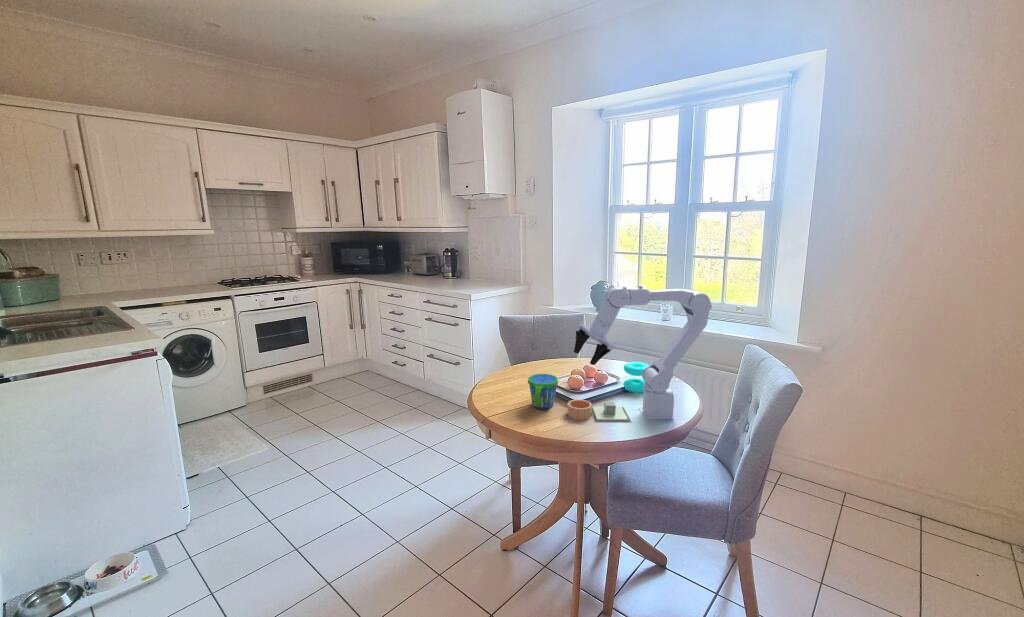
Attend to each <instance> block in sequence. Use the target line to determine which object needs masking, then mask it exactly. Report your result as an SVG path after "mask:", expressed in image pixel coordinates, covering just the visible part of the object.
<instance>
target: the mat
mask: <svg viewBox="0 0 1024 617" xmlns="http://www.w3.org/2000/svg"><path fill="white" fill-rule="evenodd" d="M621 407H622V409H623V411H624V413H625V415H626V416H627V418H628V421H597V420H596V417H595V414H594V412H593V409H592V416H591V417H592V420H593V422H594V423H633V422H632V420H631V418H630V417H629V415H628V413H627V411H626V409H625V407H624V406H621Z"/></svg>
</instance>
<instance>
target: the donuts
mask: <svg viewBox="0 0 1024 617" xmlns="http://www.w3.org/2000/svg"><path fill="white" fill-rule="evenodd" d="M648 366H650V365H649V364H647V363H645V362H641V361H629V362H626V363H625V364H624V366H623V370H624V371H625V373H626V374H628V375H630V376H634V377H632V378H626V379H625V380H624V381H623V383H622V384H623V385H624V386H625V388H624V390H626V391H627V392H629V393H630V392H631V393H636V394H637V393H638V394H641V393H643V392H644V385H645V381H644V380H643V378H640V377H642V373H643V371H644V369H645V368H647V367H648ZM638 377H639V378H638ZM623 385H622V386H623Z"/></svg>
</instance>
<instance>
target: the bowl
mask: <svg viewBox="0 0 1024 617" xmlns="http://www.w3.org/2000/svg"><path fill="white" fill-rule="evenodd" d="M592 407H593V404H592V402H591V401H588V400H585V399H572V400H569V401H568V402H567V409H566V410H567V416H568V417H569V418H571V419H574V420H580V421H582V420H588V419H590V418H591V417H592Z"/></svg>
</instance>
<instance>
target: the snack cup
mask: <svg viewBox="0 0 1024 617" xmlns="http://www.w3.org/2000/svg"><path fill="white" fill-rule="evenodd" d="M527 383H528V385H529V391H530V392H529V393H530V397H531V398H530V399H531V403H532V406H533V407H534V408H536V409H539V410H548V409H551V408H552V407H553V406H554V404H555V398H556V392H557V386H558V383H559V378H558V377H557V376H555V375H554V374H549V373H537V374H532V375H530V376H529V377H528V378H527Z"/></svg>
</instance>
